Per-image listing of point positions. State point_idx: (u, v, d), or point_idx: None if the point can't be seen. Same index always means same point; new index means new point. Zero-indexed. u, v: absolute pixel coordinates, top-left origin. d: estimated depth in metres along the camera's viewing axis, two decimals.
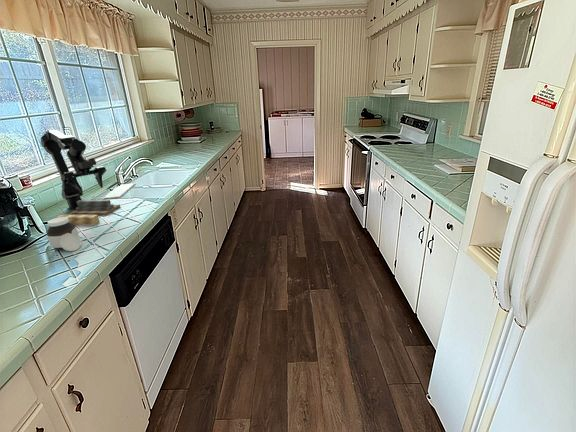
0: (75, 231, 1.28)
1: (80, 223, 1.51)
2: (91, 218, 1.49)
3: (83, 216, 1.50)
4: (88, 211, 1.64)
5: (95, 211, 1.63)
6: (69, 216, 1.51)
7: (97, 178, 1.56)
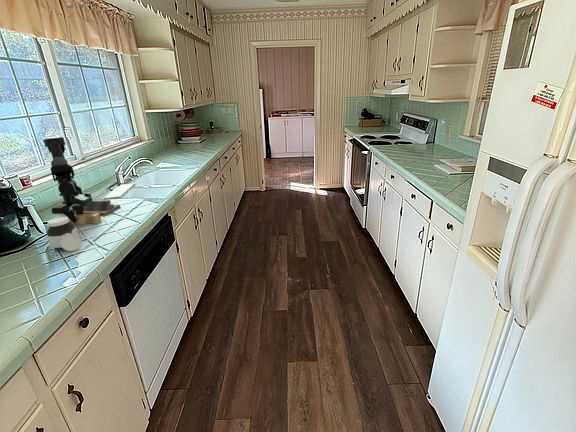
0: (75, 231, 1.28)
1: (81, 222, 1.51)
2: (94, 216, 1.50)
3: (84, 215, 1.51)
4: (88, 211, 1.64)
5: (95, 211, 1.63)
6: None
7: (77, 209, 1.53)
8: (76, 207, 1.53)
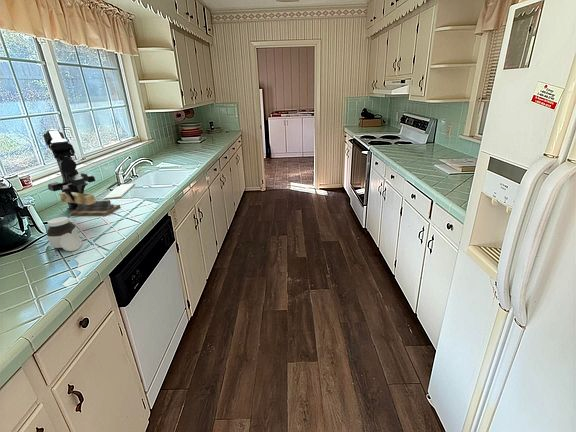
0: (75, 231, 1.28)
1: (78, 201, 1.51)
2: (85, 198, 1.48)
3: (80, 195, 1.50)
4: (88, 211, 1.64)
5: (95, 211, 1.63)
6: None
7: (79, 187, 1.54)
8: (78, 186, 1.54)
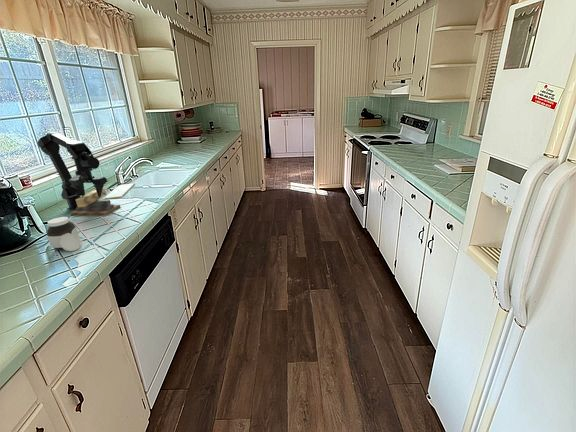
0: (75, 231, 1.28)
1: None
2: None
3: (85, 195, 1.60)
4: (88, 211, 1.64)
5: (95, 211, 1.63)
6: (93, 191, 1.67)
7: None
8: None
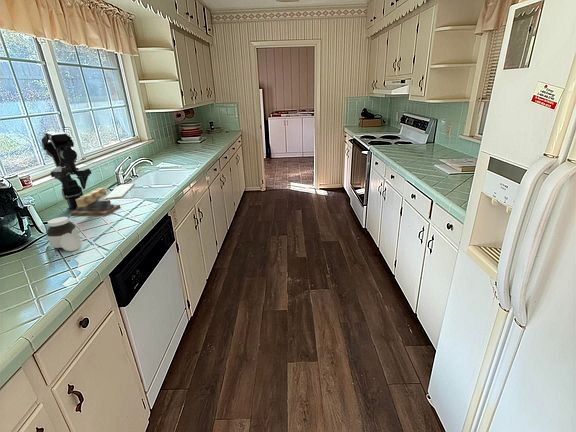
0: (75, 231, 1.28)
1: None
2: None
3: (85, 195, 1.60)
4: (88, 211, 1.64)
5: (95, 211, 1.63)
6: (93, 191, 1.67)
7: None
8: None
